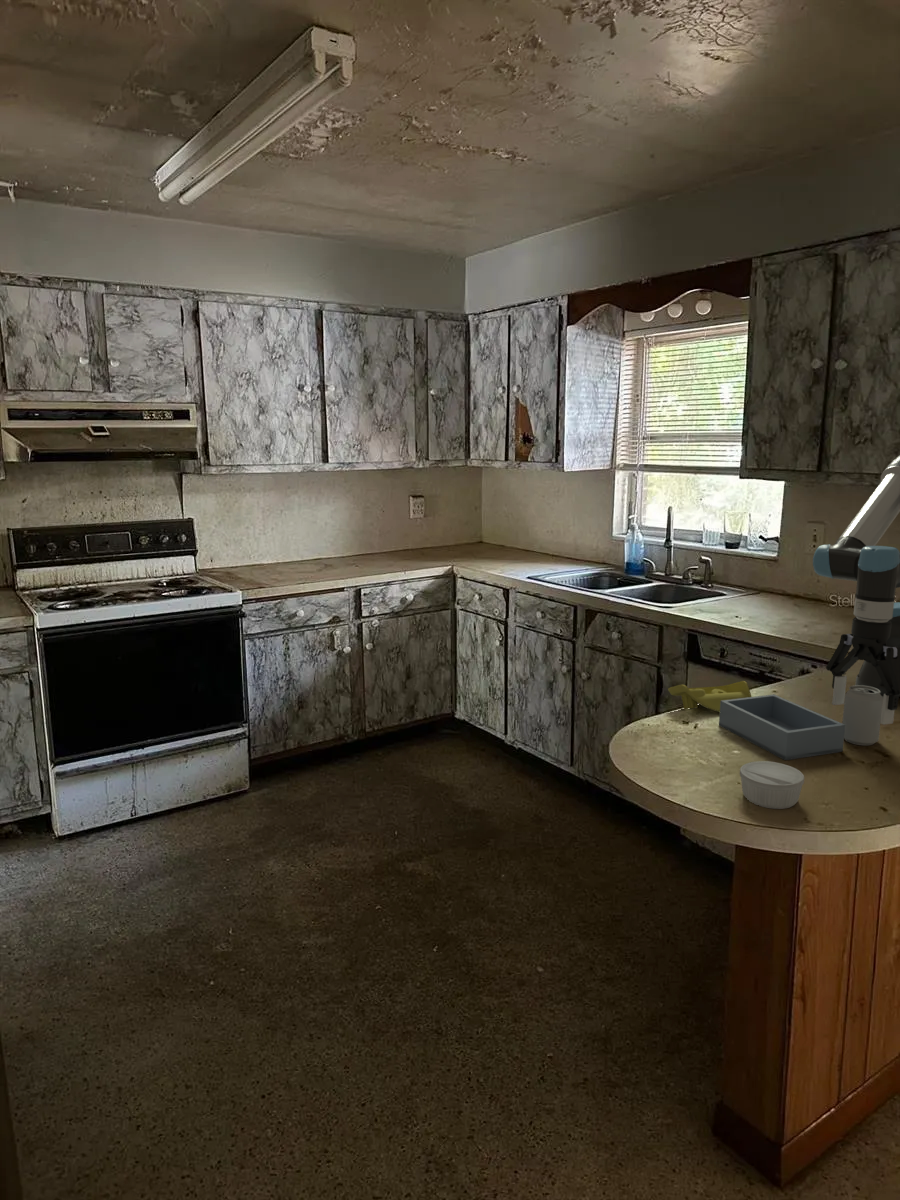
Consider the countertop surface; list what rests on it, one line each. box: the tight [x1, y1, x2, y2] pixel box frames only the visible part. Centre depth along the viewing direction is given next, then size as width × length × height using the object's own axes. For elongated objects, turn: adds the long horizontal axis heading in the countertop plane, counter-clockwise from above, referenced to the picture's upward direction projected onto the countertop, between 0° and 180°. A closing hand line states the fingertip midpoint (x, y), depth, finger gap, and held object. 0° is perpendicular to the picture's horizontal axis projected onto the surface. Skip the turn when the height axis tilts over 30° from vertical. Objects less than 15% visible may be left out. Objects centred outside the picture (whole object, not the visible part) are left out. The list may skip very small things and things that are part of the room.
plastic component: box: [667, 680, 753, 713], centre depth 207 cm, size 20×7×10 cm
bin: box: [718, 693, 845, 761], centre depth 186 cm, size 15×22×6 cm
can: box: [841, 685, 883, 746], centre depth 184 cm, size 8×8×12 cm
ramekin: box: [739, 760, 805, 810], centre depth 155 cm, size 11×11×5 cm
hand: (861, 713), depth 183 cm, fingers open, 13 cm apart
